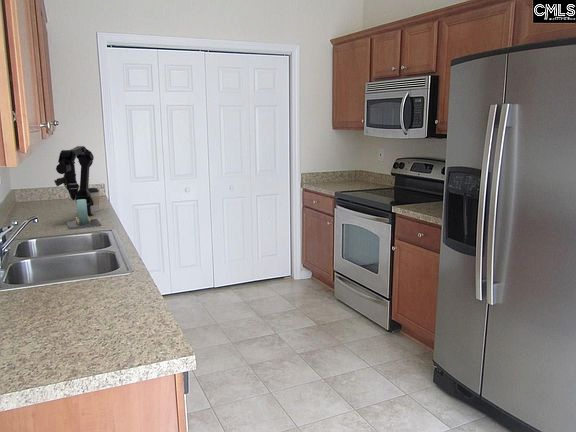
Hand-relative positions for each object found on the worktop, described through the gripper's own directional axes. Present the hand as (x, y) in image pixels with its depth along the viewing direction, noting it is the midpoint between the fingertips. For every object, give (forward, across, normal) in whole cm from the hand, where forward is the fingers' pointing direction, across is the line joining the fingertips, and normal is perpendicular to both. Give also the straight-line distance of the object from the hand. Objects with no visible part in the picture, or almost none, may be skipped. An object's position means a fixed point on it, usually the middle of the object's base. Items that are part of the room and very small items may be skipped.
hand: (72, 199), depth 270 cm
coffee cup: (+13, -29, +14) cm, 35 cm away
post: (+12, +14, +3) cm, 19 cm away
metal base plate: (+13, +14, +3) cm, 19 cm away
